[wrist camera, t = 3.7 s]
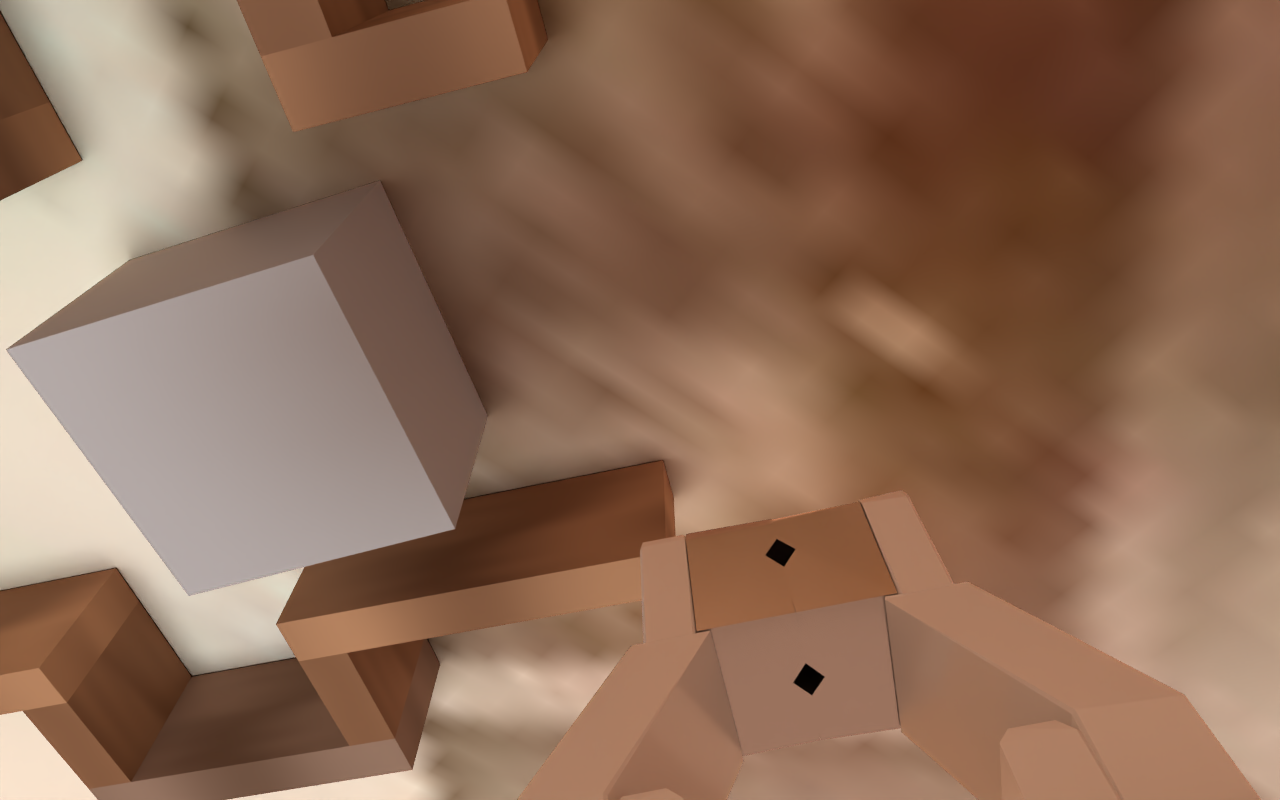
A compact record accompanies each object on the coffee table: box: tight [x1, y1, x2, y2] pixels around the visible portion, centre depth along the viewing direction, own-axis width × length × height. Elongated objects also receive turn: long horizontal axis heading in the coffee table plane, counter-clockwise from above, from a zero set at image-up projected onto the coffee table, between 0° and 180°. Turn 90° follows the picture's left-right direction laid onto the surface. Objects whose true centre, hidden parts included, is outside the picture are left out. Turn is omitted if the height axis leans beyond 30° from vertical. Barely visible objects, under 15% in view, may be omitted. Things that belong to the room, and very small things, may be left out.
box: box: [0, 0, 675, 800], centre depth 19 cm, size 24×21×5 cm
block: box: [6, 180, 488, 596], centre depth 19 cm, size 6×6×4 cm
